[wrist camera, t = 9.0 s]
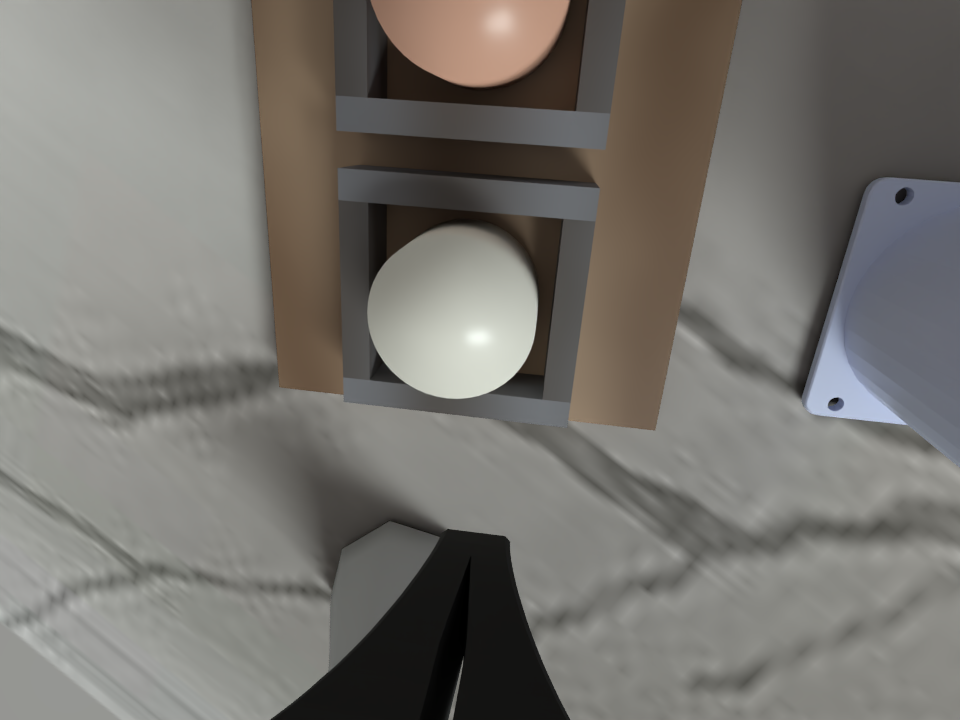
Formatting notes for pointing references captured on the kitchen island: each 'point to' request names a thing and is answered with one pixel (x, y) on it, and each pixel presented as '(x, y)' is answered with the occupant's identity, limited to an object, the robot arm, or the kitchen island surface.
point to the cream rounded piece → (455, 309)
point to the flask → (373, 581)
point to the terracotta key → (474, 37)
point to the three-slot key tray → (493, 193)
